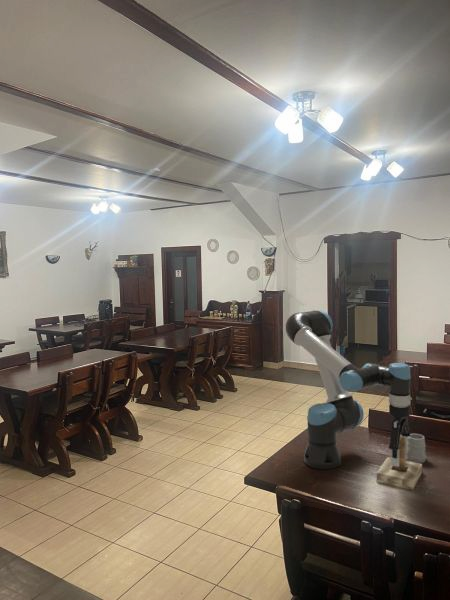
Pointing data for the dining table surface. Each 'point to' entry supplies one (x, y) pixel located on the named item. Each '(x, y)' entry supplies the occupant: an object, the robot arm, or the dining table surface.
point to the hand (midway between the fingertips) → (399, 458)
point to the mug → (416, 448)
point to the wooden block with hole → (400, 474)
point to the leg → (401, 456)
